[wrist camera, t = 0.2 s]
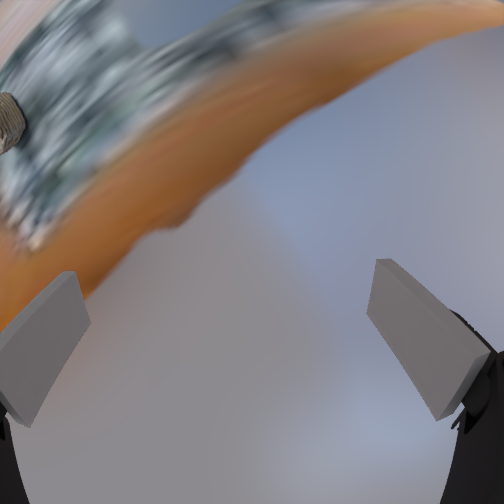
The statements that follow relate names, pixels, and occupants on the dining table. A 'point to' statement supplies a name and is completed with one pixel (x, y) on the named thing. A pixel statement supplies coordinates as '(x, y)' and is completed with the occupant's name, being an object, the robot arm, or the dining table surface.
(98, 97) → the dining table surface
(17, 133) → the fossil tooth
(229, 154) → the dining table surface
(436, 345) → the robot arm
